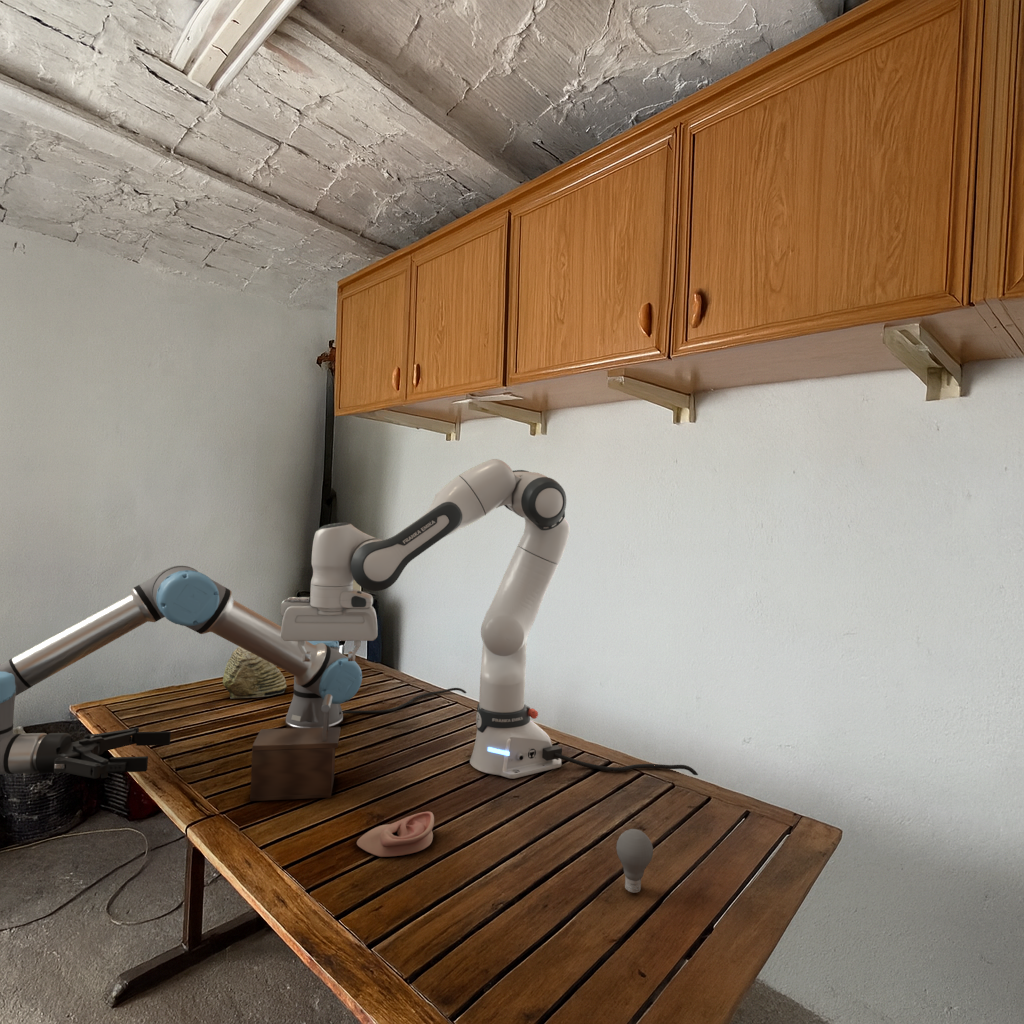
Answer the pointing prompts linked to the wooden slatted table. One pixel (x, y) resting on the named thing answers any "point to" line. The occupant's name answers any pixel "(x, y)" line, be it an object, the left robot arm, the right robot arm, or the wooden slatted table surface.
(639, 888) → the light bulb
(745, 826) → the wooden slatted table surface
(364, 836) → the anatomical model
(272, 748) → the lid
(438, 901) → the wooden slatted table surface
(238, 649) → the fossil
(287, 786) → the chest
